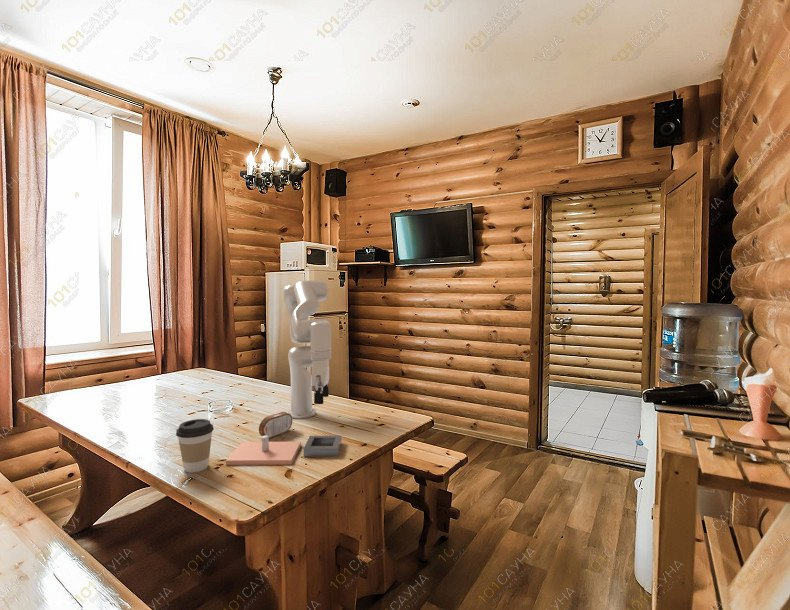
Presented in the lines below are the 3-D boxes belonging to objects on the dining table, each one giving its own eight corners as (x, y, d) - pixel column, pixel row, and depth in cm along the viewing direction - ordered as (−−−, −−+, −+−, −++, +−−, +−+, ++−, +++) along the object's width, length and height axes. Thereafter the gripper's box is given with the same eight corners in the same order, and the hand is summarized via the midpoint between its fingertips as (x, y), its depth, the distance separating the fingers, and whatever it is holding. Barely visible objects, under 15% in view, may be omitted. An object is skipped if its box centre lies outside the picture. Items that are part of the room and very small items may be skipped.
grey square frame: (310, 443, 160) (309, 435, 159) (341, 443, 160) (341, 435, 160) (303, 456, 148) (303, 448, 147) (337, 456, 148) (337, 448, 148)
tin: (288, 428, 175) (288, 409, 175) (293, 430, 173) (293, 410, 173) (258, 439, 163) (257, 418, 163) (263, 441, 161) (262, 420, 161)
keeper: (242, 445, 157) (241, 427, 157) (301, 445, 158) (300, 427, 157) (225, 464, 141) (225, 444, 141) (291, 464, 142) (291, 443, 141)
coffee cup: (194, 458, 146) (193, 416, 145) (222, 462, 143) (221, 419, 142) (168, 473, 135) (167, 427, 134) (197, 478, 132) (196, 431, 131)
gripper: (316, 351, 164) (316, 394, 165) (305, 359, 147) (306, 407, 148) (335, 351, 164) (335, 394, 165) (326, 359, 147) (327, 407, 148)
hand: (321, 400), depth 157 cm, fingers open, 9 cm apart
